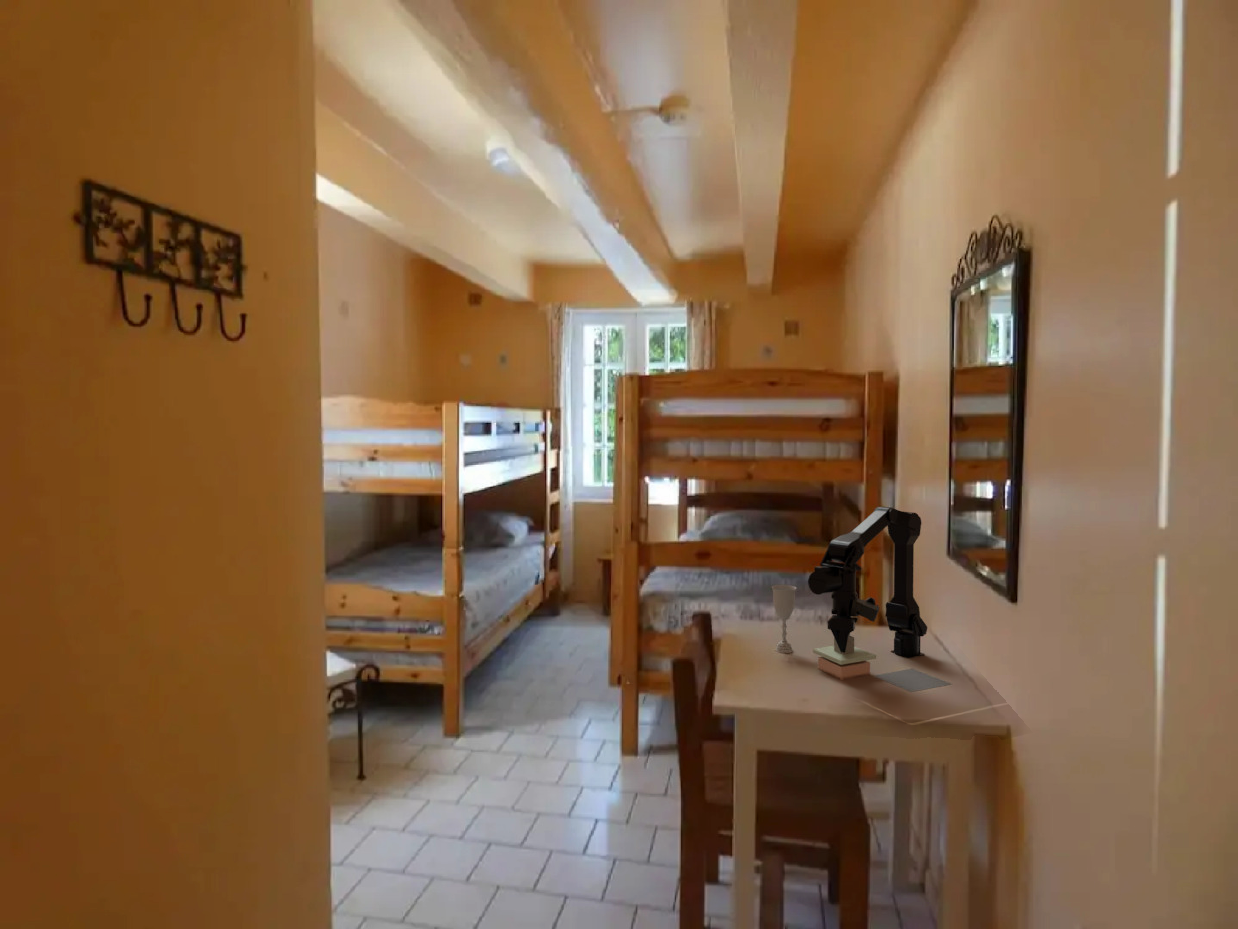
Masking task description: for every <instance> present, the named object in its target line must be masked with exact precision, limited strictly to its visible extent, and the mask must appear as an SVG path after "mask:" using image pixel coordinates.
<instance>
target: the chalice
mask: <svg viewBox="0 0 1238 929" xmlns="http://www.w3.org/2000/svg"><path fill="white" fill-rule="evenodd" d="M771 589H772V595H773V598H772V599H773V603H772V604H773V608H774V610H775V613H776V615H777V616H778V618H779V620H781V621H782V624H781V626H780V627H781V629H782V631H781V633H780V634H781V635H782V639H781V640H780V641H778V643H777V645H776V648H775V649H774V651H775V650H776V651H775V652H777V653H780V654H781V653H783V654H789V653H793V652H794V649H793V646H792V644H791V643H790V641H787V635H788V633H787V628H788V627H787V621H788V620H789V619H791V618H790V617H791V616H792V614H793V612H794V609H795V607H796V606H795V605H796V591H797V587H796V586H794V585H789V584H775V585H772V586H771Z"/></svg>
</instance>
